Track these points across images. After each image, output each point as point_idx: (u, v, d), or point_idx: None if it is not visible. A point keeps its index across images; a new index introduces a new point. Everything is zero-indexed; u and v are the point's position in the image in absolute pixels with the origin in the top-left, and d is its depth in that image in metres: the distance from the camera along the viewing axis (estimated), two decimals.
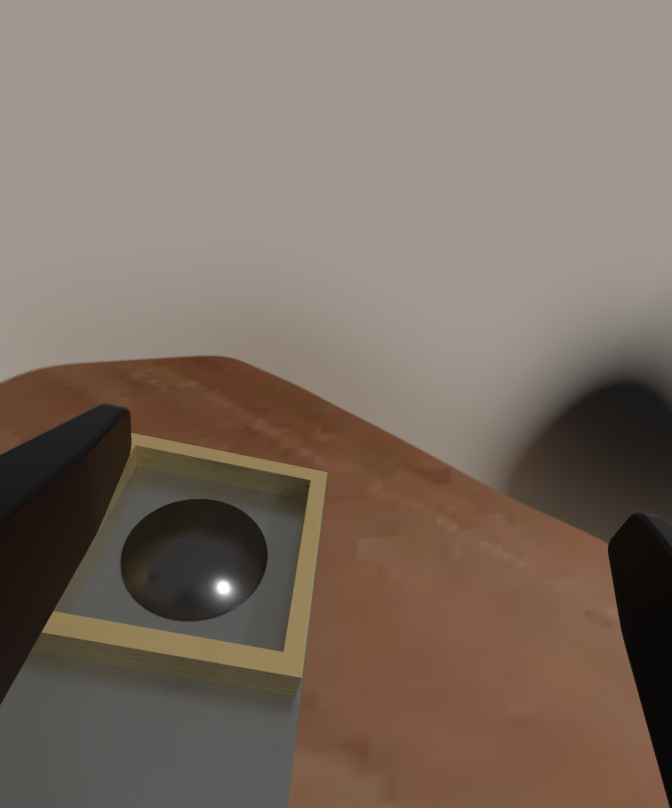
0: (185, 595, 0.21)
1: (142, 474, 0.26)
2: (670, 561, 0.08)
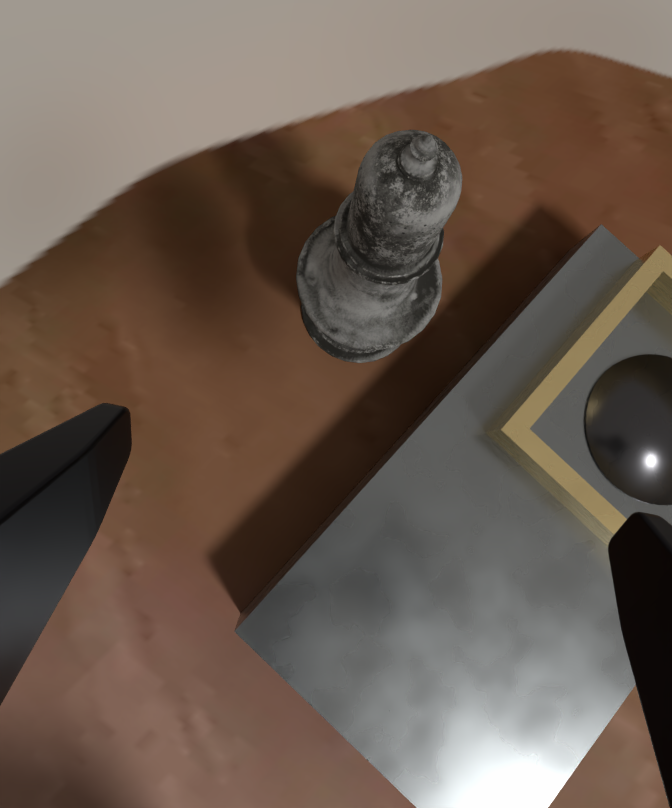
0: (629, 466, 0.21)
1: (640, 299, 0.22)
2: (670, 561, 0.08)
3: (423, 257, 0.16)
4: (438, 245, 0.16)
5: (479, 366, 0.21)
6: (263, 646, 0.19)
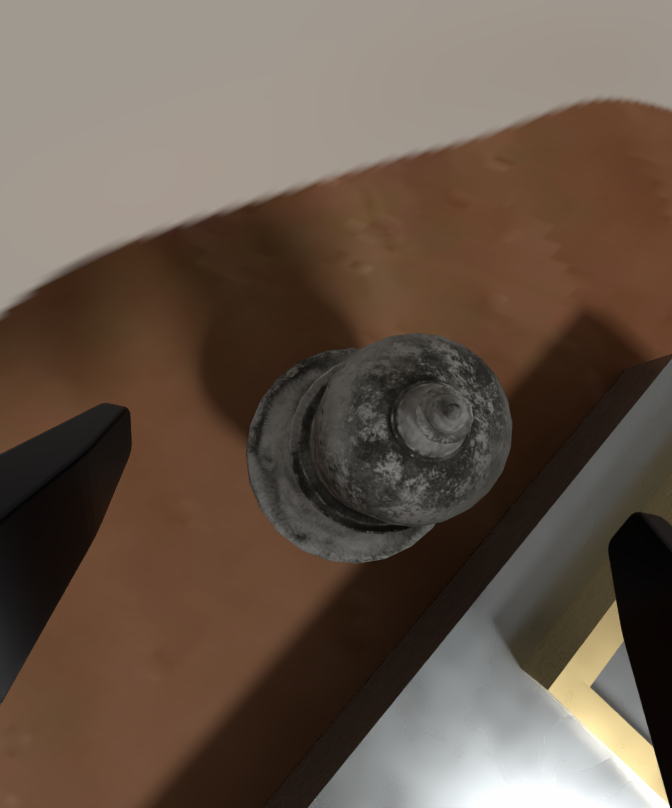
0: None
1: None
2: (670, 561, 0.08)
3: None
4: None
5: (511, 567, 0.15)
6: None
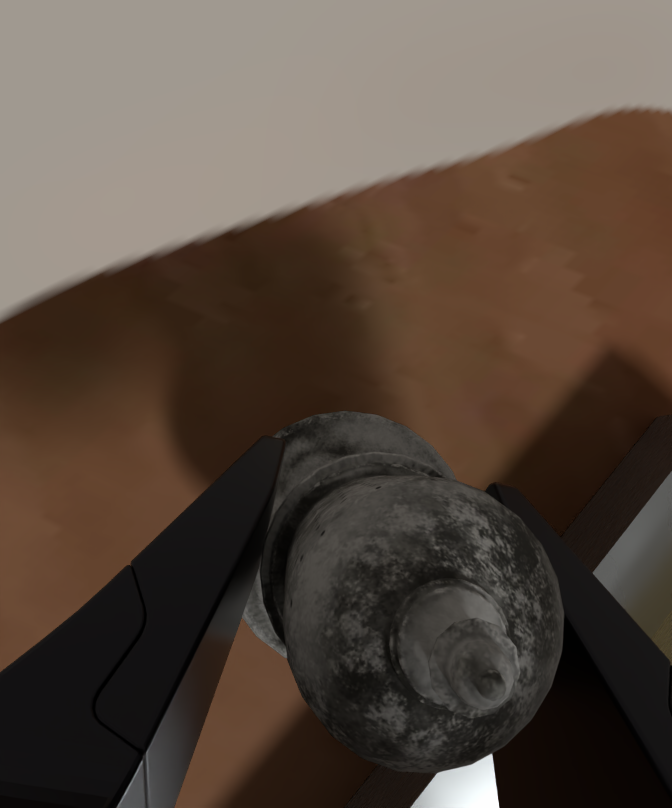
0: None
1: None
2: None
3: None
4: None
5: None
6: None
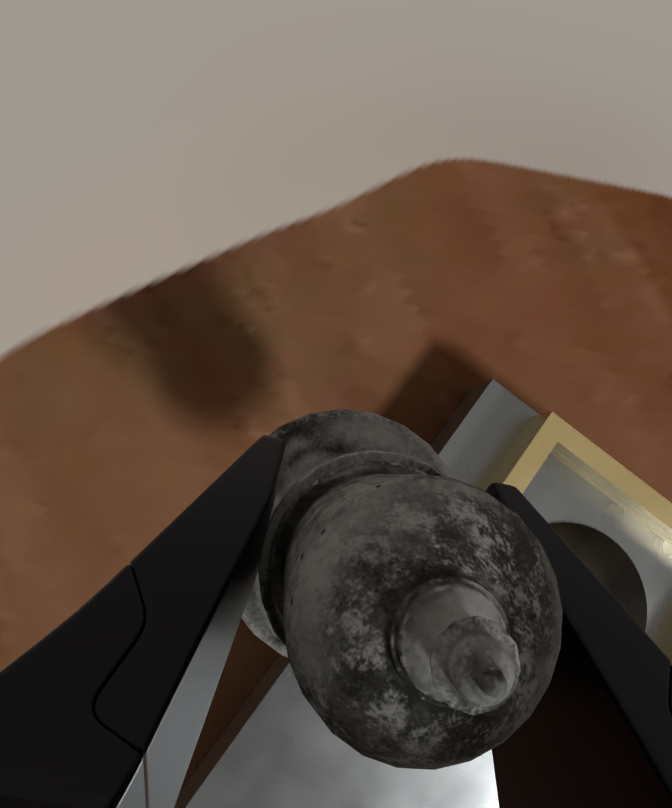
0: None
1: None
2: None
3: None
4: None
5: None
6: None
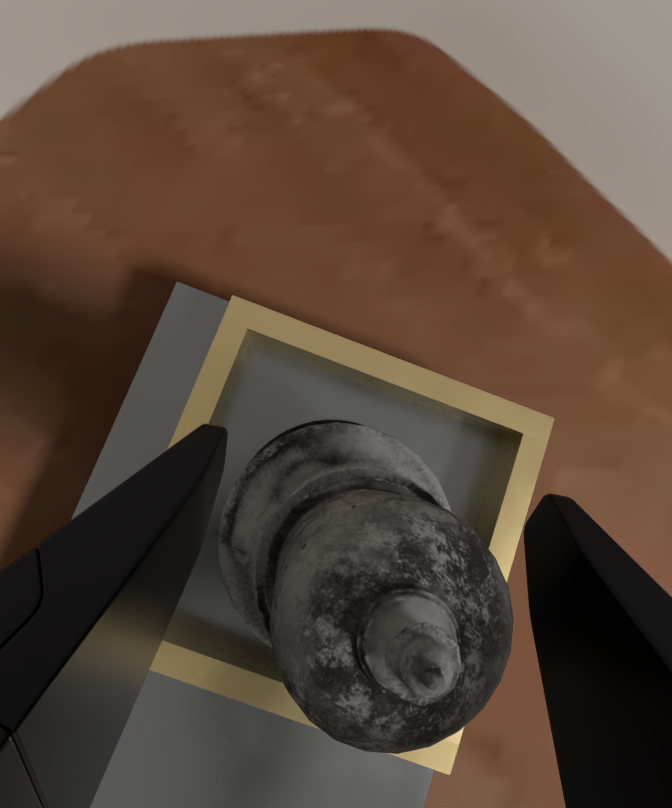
0: None
1: (260, 359, 0.17)
2: (570, 541, 0.08)
3: None
4: None
5: None
6: None
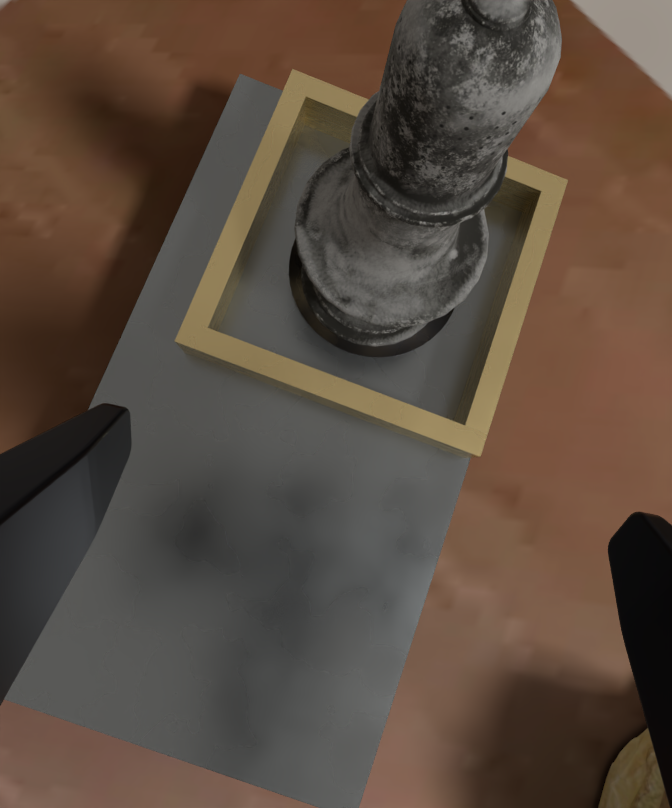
0: None
1: (312, 140, 0.19)
2: (670, 561, 0.08)
3: (480, 186, 0.11)
4: (500, 170, 0.11)
5: (151, 282, 0.18)
6: None
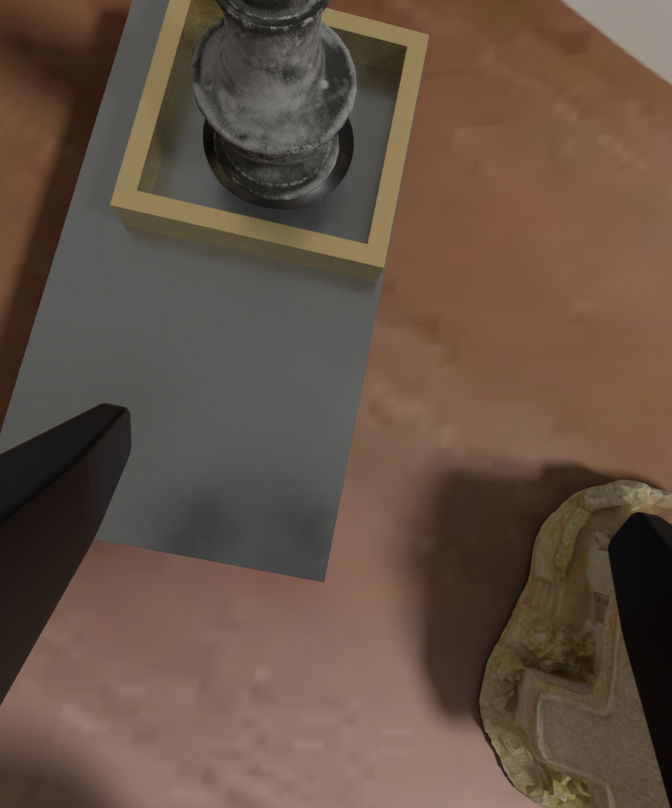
0: None
1: None
2: (670, 561, 0.08)
3: None
4: None
5: (86, 170, 0.21)
6: None
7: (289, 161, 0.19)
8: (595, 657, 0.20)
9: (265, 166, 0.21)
